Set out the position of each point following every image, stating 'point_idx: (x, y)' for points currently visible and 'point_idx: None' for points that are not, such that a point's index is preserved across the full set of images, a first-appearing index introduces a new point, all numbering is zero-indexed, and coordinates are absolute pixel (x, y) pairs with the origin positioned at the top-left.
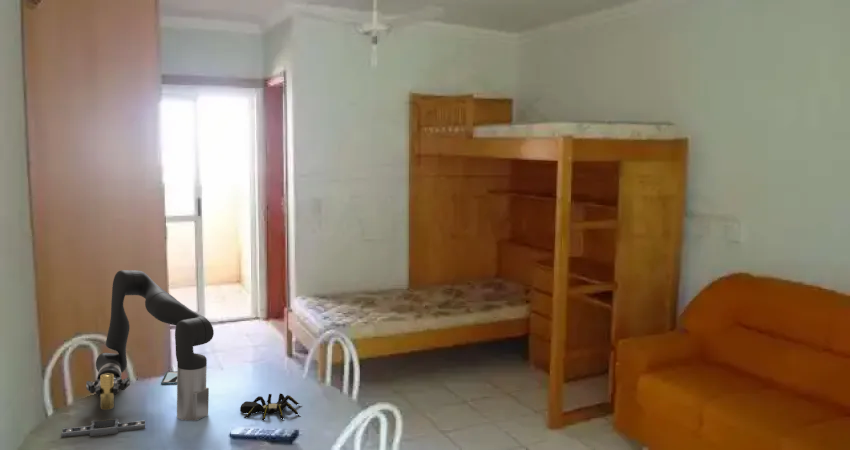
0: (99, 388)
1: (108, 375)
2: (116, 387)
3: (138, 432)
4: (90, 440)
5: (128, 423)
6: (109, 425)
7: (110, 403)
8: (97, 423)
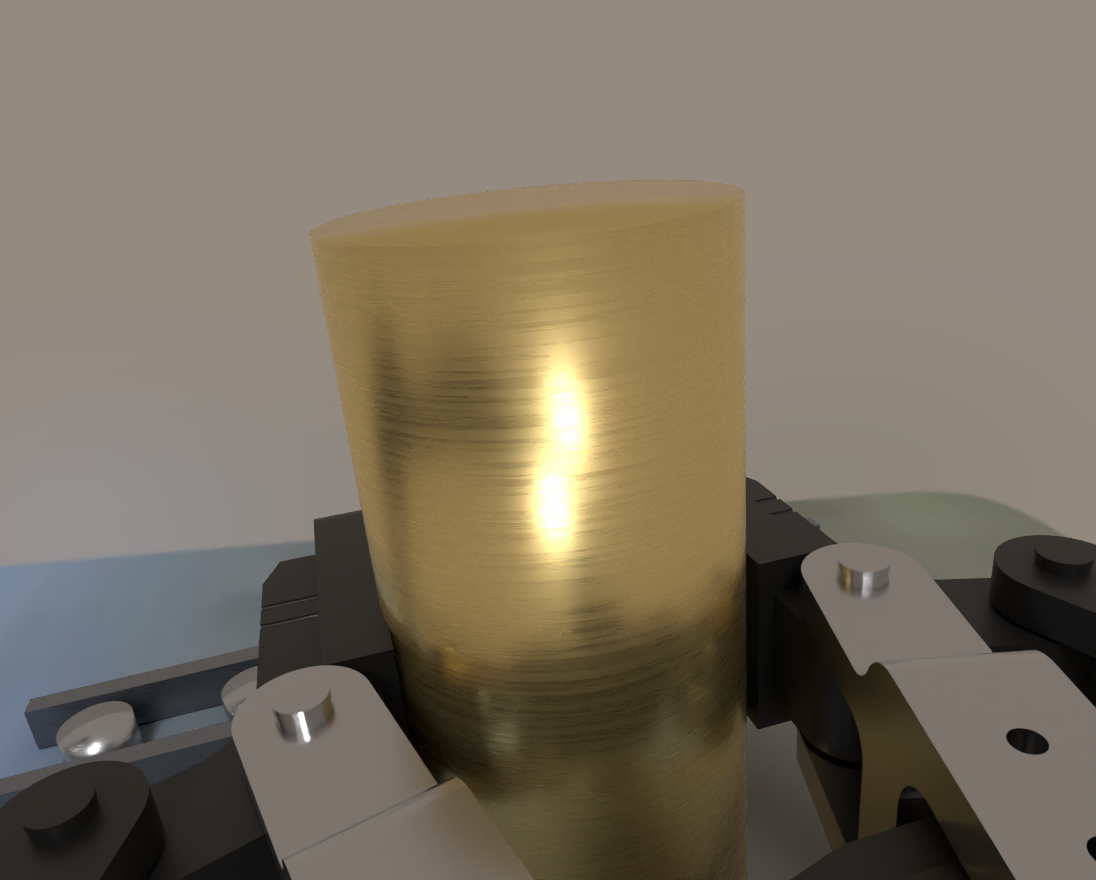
0: None
1: (468, 208)
2: (306, 623)
3: (136, 664)
4: None
5: (213, 733)
6: None
7: None
8: None
